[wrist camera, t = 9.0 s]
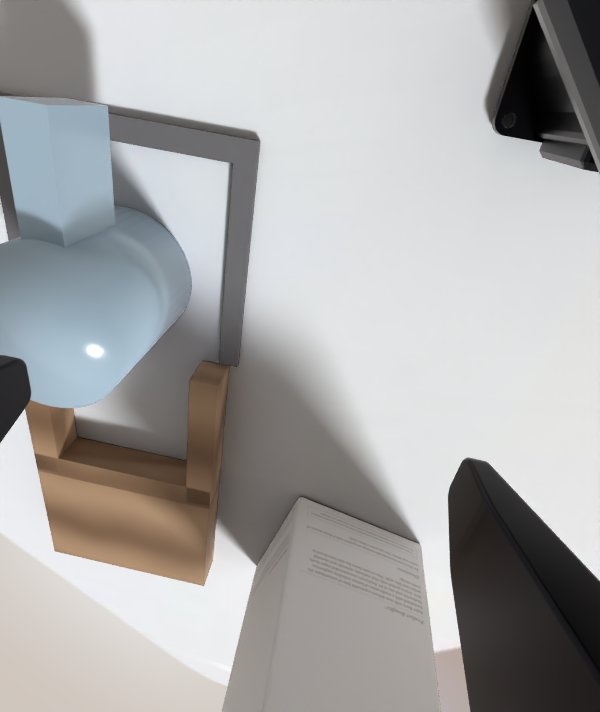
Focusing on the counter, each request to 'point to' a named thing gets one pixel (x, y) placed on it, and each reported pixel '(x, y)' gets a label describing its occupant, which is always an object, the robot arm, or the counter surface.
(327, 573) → the supplement box
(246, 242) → the frame
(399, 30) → the counter surface
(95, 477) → the cradle
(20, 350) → the jug
